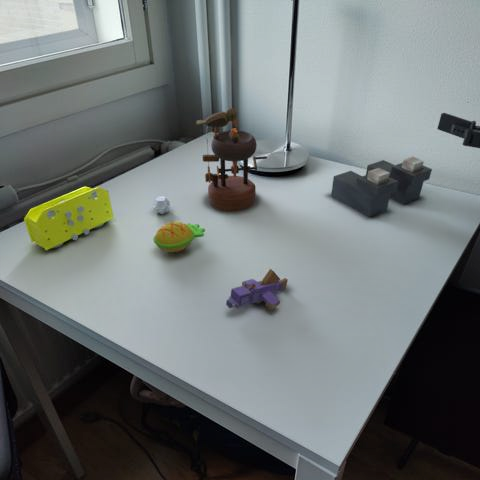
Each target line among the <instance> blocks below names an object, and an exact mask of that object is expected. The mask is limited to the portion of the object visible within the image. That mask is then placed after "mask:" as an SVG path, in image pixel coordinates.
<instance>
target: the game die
mask: <svg viewBox="0 0 480 480" xmlns="http://www.w3.org/2000/svg"><path fill="white" fill-rule="evenodd" d="M152 208H153V209H154V211H155V212H156V213H158V214H160V215H164V214H166V213H169V210H170V209H171V202H170V200H169V199H168V198H167V197H166V196H162V195H161V196H157V197H155V199H154V200H153V204H152Z"/></svg>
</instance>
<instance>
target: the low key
mask: <svg viewBox="0 0 480 480" xmlns="http://www.w3.org/2000/svg"><path fill="white" fill-rule="evenodd" d="M402 163H403V164H402V168H403V169H406V170H408V171H410V172H412V173H413V172H416V171H419V170H422V167H423V166H424V163H425V161H424V160H423V159H420V158H417V157H415V156H411V157H408V158H404V159H403V160H402Z"/></svg>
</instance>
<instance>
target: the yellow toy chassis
mask: <svg viewBox="0 0 480 480" xmlns="http://www.w3.org/2000/svg"><path fill="white" fill-rule="evenodd" d="M110 198H111V197H110V193H109V190H107V189H104V188H103V187H100V186H96V187H95V188H92V187H89V186H82V187H80V188H78V189H76V190H73V191H70V192H68V193H66V194H63V195H61V196H58V197H56V198H54V199H51V200H49V201H47V202H44V203H41V204H39V205H37V206H34V207H32V208H30V209H29V211H28V212H27V214H26V215H25V216H24V218H23V222H24V224H25V227H26V229H27V232H28V235H29V238H30V241H31V243H35V244H36V245H38V246H39V247H41V248H43V249H44V250H45V251H48V250H50V249H57V248H60V247H62V246H63V245H64V243H65V242H67V241H69V240H73V241H77V240H78V239H79V236H80V235H82V234H84V235H86V236H87V235H89V234H90V230H92V229H97V228H101V227H103V226H104V224H105V223H106V222H109V221H111V220H113V219H114V218H115V217H114V212H113V208H112V203H111V199H110Z"/></svg>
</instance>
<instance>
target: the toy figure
mask: <svg viewBox="0 0 480 480" xmlns="http://www.w3.org/2000/svg"><path fill="white" fill-rule="evenodd" d="M288 280H289V279H288V278H286V277H285V278H282V279H281V278H280V277H279V275H278V274H276V271H274V270H273V269H271V268H269V270H268V272H266V274H265V275H264V277H263V278H262V280H259V281H257V280H256V279H254V278H252V279H251V278H250V279H247V280H244V281H242V282H241V286H237V287H234V288H231V290H230V296H228V298H227V299H226V303H225V305H226V306H227V307H228V308H229V309H233V308H235V309H239V308H242V307H245V306H248V305H250V304H252V305H253V304H255V303H256V304H258V305H260V304H261V303H262V302H264V303H265V307H266V308H268V309H269V310H270V311H274V309H276V308H277V306H279V305H280V303H281V300H280V299H279V298H278V297H277V296H276V295H278V292H279V291H281V290H286V289H287V285H288Z"/></svg>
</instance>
